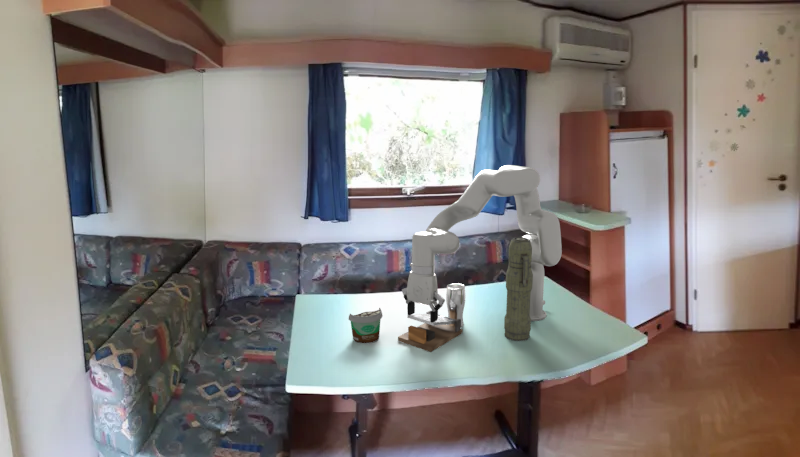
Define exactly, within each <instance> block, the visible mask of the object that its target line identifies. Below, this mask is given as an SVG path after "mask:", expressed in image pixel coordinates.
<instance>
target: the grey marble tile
mask: <svg viewBox="0 0 800 457" xmlns="http://www.w3.org/2000/svg"><path fill="white" fill-rule="evenodd" d="M407 318H408V319H411V320H414V321H417V322H420V323H422V324H424V323H426V324H430V325H433V326H434V325H445V324H446V325H447V324H455V321H456V320H455V319H452V318H448V317H447V316H444V315H441V314H438V319H437V321H435V322H433V323H432V322H430V314H426V313H419V314H418V313H414V314H411V315H408V314H407Z"/></svg>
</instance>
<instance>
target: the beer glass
mask: <svg viewBox="0 0 800 457" xmlns="http://www.w3.org/2000/svg"><path fill="white" fill-rule="evenodd" d="M445 296H446V297H445V298H446V299H445V302H446V307H447V313H448V318H452V319H455V320H458V319H461V328H463V327H464V326H465V324H464V309H465V304H466V285H465V284H462V283H450V284H447V285H446V293H445ZM446 325H450V326H453V327H455V324H446Z"/></svg>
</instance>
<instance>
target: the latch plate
mask: <svg viewBox="0 0 800 457" xmlns="http://www.w3.org/2000/svg"><path fill="white" fill-rule="evenodd" d="M431 311H432V310H429V311H426V313H425V314H430V312H431ZM407 328H408V329H407V331H406V332H404V333H402V334H400V335H399V336H397V342H400V343H404V344H406V345H408V346H412V347H413V348H414V347H415V348H418V349H420V350H424V351H426V352H428V353H429V352H430V353H432V352H434V351H435V350H437V349H439V348H441V347H442V346H444V345H446V344H447V343H448V342H451V341H452V340H454V339H455V338H457V337H460V336H461V335H462V334H463V332H464V331H463V329H462V327H461V319H458V320H456V321H455V327H453V326H450V325H447V324H445V325H434V326H433V325H430V324H426V323H422V324H420V325H418V326H415V325H409V326H408V327H407Z"/></svg>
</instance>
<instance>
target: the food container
mask: <svg viewBox="0 0 800 457" xmlns="http://www.w3.org/2000/svg"><path fill="white" fill-rule="evenodd" d="M383 316H384V315H383V312H382V309H381V307H379V309H377V310H373V311H364V312H360V313H358V314H351V313H349V314H348V321H350V326H351V334H352V340H353V342H355V343H359V344H372V343H375V342H377V341H379V339H380V330H381V319H382V318H383Z"/></svg>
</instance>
